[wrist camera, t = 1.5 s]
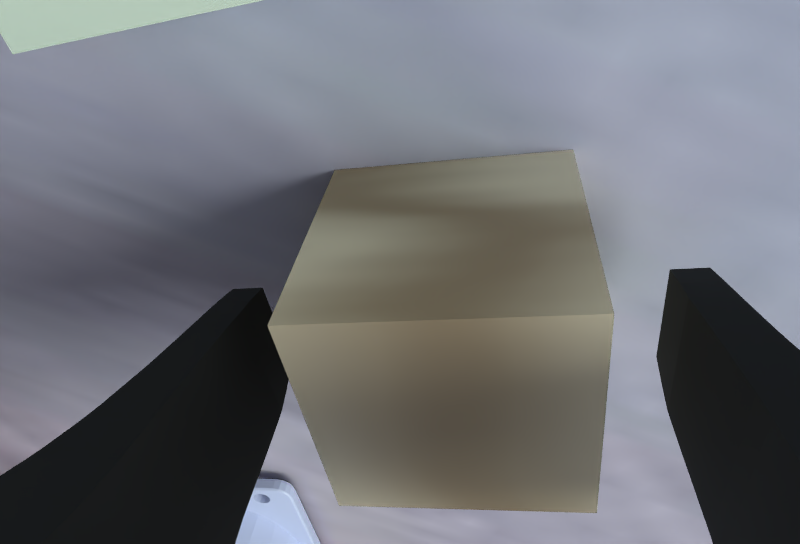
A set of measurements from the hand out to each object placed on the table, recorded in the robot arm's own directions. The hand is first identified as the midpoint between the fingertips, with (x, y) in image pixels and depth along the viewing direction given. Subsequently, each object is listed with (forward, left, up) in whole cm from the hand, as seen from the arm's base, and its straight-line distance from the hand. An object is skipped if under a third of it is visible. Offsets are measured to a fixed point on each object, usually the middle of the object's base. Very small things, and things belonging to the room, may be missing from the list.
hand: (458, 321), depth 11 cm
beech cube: (0, 0, -2) cm, 2 cm away
